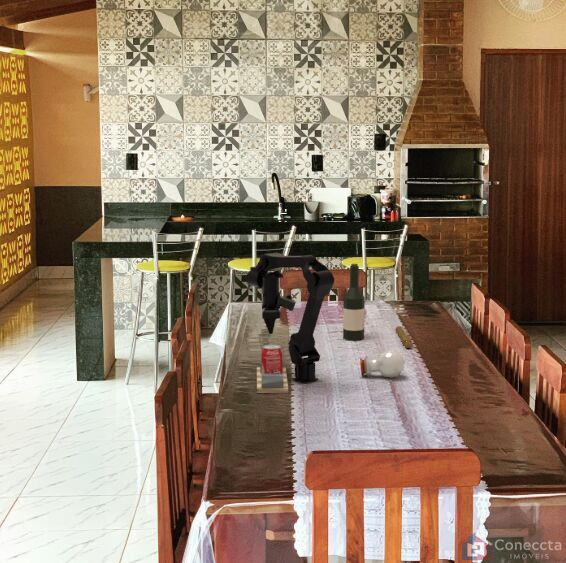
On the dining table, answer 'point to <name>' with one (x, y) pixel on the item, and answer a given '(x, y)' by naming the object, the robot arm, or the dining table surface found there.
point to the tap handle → (404, 337)
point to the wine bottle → (353, 308)
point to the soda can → (271, 360)
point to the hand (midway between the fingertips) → (271, 333)
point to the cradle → (272, 382)
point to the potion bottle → (384, 364)
